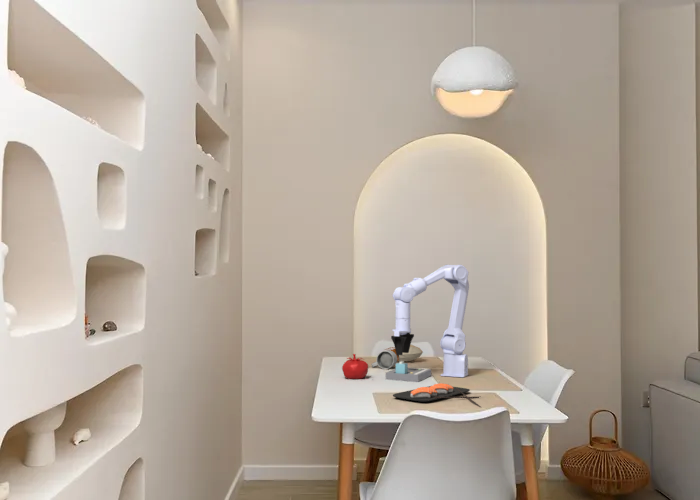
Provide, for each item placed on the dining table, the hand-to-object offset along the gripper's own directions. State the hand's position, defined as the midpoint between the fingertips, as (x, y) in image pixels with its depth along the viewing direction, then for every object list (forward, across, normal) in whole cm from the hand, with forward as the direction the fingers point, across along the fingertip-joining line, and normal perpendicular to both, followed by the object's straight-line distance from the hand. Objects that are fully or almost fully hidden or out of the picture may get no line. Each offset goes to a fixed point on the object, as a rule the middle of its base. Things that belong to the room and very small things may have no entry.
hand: (402, 353), depth 281 cm
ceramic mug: (+10, -26, -17) cm, 32 cm away
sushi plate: (+10, +32, +28) cm, 44 cm away
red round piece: (+10, +6, -17) cm, 21 cm away
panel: (+10, -5, +1) cm, 11 cm away
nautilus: (+10, -49, -17) cm, 53 cm away
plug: (+10, 0, 0) cm, 10 cm away
